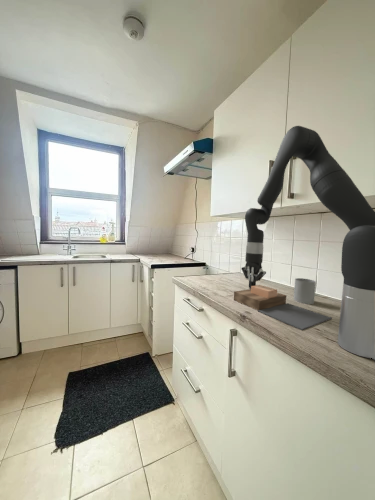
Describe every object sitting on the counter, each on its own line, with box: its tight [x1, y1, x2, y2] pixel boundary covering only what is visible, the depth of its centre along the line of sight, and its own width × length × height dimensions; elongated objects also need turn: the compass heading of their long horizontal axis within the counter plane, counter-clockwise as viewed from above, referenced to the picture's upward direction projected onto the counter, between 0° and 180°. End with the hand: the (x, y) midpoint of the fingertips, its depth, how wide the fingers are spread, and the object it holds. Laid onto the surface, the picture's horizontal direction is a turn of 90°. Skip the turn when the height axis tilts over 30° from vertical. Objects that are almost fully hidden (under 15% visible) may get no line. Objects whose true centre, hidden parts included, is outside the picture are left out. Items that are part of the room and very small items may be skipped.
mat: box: [257, 302, 333, 331], centre depth 76 cm, size 17×20×1 cm
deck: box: [233, 288, 287, 311], centre depth 90 cm, size 14×18×4 cm
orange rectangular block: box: [251, 284, 278, 298], centre depth 88 cm, size 9×6×3 cm, turn 32°
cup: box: [293, 277, 317, 305], centre depth 94 cm, size 8×8×10 cm
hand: (251, 288), depth 93 cm, fingers closed
